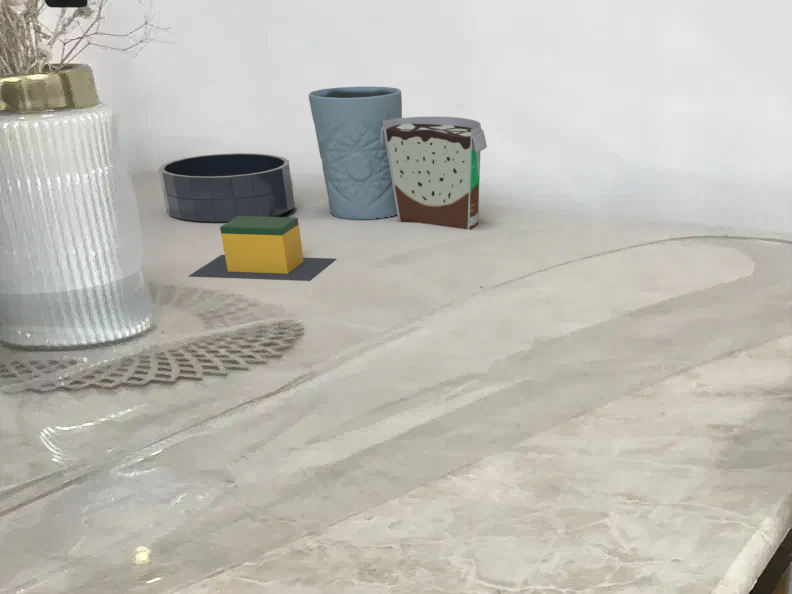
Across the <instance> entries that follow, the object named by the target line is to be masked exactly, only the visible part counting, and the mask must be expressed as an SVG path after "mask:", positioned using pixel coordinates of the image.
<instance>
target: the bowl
mask: <svg viewBox="0 0 792 594" xmlns="http://www.w3.org/2000/svg"><path fill="white" fill-rule="evenodd" d="M158 174H159V175H158V176H159V179H160V184H161V190H162V195H163V199H164V200H163V201H164V205H165V209H166V213H167V214H168V215H169V216H171V217H173V218H177V219H178V220H179V219H180V220H183V221H184V220H185V221H191V222H203V223H205V222H207V223H208V222H209V223H210V222H211V223H222V222H223V223H224V222H225V223H227V222H229V221H231V220H232V219H234V218H236V217H238V216H258V217H283V215H286V213H287V212H289V211H290V210H292V209H293V208H296V197H295V189H294V183H293V175H292V167H291V161H290V160H289V159H288V158H286V157H283V156H280V155H279V156H278V155H275V154H265V153H256V152H255V153H253V152H251V153H250V152H247V153H244V152H240V153H239V152H235V153H231V152H230V153H215V154H204V155H203V154H202V155H195V156H188V157H183V158H179V159H175V160H171V161H168V162H165V163H164V164H161V165H160V166H159V168H158Z"/></svg>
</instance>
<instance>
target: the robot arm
mask: <svg viewBox="0 0 792 594" xmlns="http://www.w3.org/2000/svg"><path fill="white" fill-rule="evenodd" d="M44 2H45V4H46V6H47V7H49V8H52V9H53V8H63V9H64V8H66V9H68V8H69V9H70V8H71V9H73V8H76V9H78V8H79V9H81V8H85V7H87V6H88V0H44Z"/></svg>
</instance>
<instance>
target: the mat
mask: <svg viewBox="0 0 792 594" xmlns="http://www.w3.org/2000/svg"><path fill="white" fill-rule="evenodd" d="M303 259H304V262H303V263H301V264H300V265H299V266H298V267H296V268H295V269H294V270H292V271H291V272H290V273H288V274H275V273H247V272H228V270H227V264H226V258H225V254H220V255H219V256H217V257H216V258H214V259H212V260H211V261H209V262H208V263H206V264H205V265H202V266H201V267H200V268H199V269H197V270H195V271H193V272H192V273H191V274H189V275H188V276H187V277H189V278H212V279H213V278H217V279H218V278H219V279H242V280H269V281H299V282H311V281H312V280H313V279H314V278H316V277H318V276H319V275H320V274H321V273H322V272H323V271H325V270H326V269H327V268H328V267H329V266H331V265H332V264H333V263H335V262H336V261H337V260H338V258H331V257H330V258H327V257H303Z"/></svg>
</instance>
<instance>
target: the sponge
mask: <svg viewBox="0 0 792 594" xmlns="http://www.w3.org/2000/svg"><path fill="white" fill-rule="evenodd" d="M299 223H300V222H299V218H298V217H289V216H280V217H258V216H238V217H236V218H234V219H232V220H231V221H227V222H225V223H224V224H222V225H221V226H220V227H219V229H220V235H221V241H222V246H223V247H222V248H223V252H224V255H225V258H226V264H227V270H228V272H247V273H275V274H288V273H290V272H291V271H292V270H294V269H295V268H296V267H298V266H299V265H300V264H301V263H303V262H304V259H303V258H304V253H303V246H302V239H301V232H300V225H299Z"/></svg>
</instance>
